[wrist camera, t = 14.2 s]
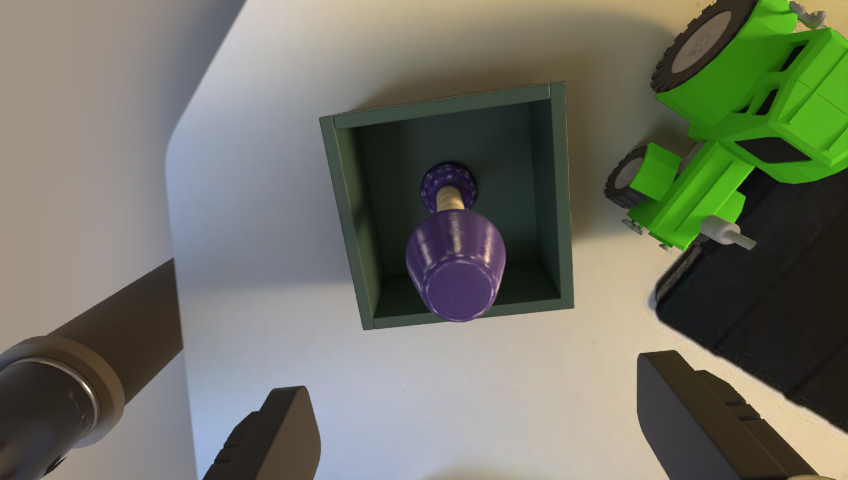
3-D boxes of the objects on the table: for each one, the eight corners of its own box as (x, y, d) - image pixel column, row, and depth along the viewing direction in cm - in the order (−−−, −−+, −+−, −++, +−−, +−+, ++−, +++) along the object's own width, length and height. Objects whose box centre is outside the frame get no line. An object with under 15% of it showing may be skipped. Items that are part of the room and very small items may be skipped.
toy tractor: (567, 187, 33) (616, 225, 24) (718, -25, 29) (853, -83, 19) (681, 258, 35) (770, 320, 25) (843, 66, 30) (1028, 55, 21)
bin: (379, 281, 37) (363, 330, 29) (347, 111, 32) (318, 117, 25) (546, 262, 35) (574, 308, 28) (535, 83, 31) (565, 80, 24)
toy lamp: (494, 185, 33) (542, 274, 17) (459, 236, 34) (473, 361, 18) (440, 150, 32) (437, 207, 16) (406, 202, 33) (372, 303, 18)
